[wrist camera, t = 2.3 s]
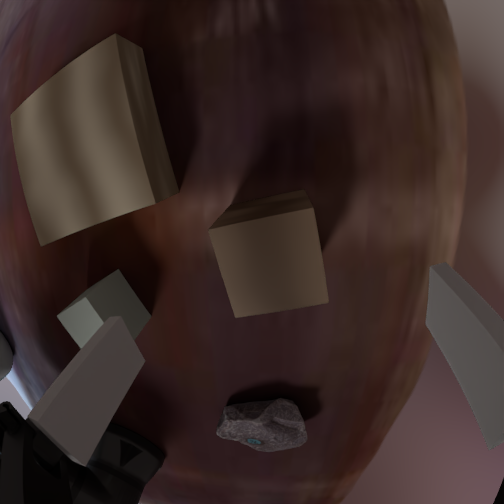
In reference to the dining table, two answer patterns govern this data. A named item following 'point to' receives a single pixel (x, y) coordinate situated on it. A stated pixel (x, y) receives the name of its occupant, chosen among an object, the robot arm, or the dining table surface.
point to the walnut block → (270, 254)
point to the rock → (263, 424)
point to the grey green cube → (104, 309)
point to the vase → (5, 357)
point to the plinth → (92, 142)
